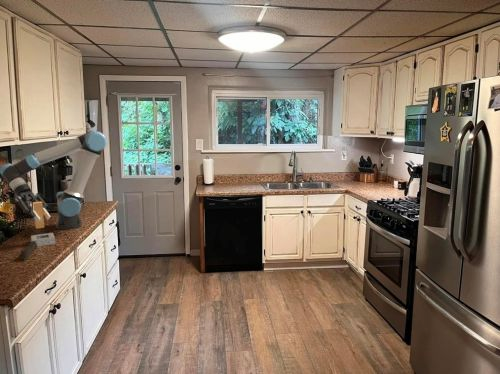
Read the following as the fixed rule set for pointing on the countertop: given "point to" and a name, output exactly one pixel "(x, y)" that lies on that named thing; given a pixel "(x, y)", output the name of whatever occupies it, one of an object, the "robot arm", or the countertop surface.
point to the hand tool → (28, 250)
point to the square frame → (43, 239)
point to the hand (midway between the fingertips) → (44, 219)
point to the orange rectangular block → (39, 214)
